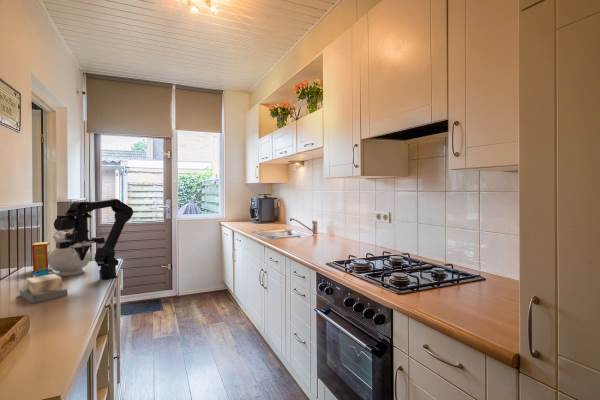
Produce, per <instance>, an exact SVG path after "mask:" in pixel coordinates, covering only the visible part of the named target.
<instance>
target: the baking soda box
mask: <svg viewBox="0 0 600 400" xmlns="http://www.w3.org/2000/svg"><path fill="white" fill-rule="evenodd" d="M50 244H51V243H50V241H41V242H40V241H38V242H34V243H33V244H31V251H32V253H31V254H32V270H33V271H32V273H33V272H35V271H37V274H38V273H39V269H43V271H44V270H45V268H48V270H47V271H49V270H50V269H52V268H51V267H50V266H49V264H48V255H49V254H50V253H51V245H50ZM43 271H41V272H43ZM47 271H45V272H47Z"/></svg>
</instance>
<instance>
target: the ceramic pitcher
mask: <svg viewBox="0 0 600 400" xmlns="http://www.w3.org/2000/svg"><path fill="white" fill-rule="evenodd" d="M72 231H73V229H69V230H68V231H67V232H65V230H60V231H58V230H56V232H55V233H54V235H53V236H52V239H54V242H55V244H56V243H57V242H60V241H69V242H70V240H65V234H66V233H70V234H72ZM81 245H82V244H81ZM81 245H80V247H81ZM91 258H92V253H91V250H90V249H89V250H88V251H87V253H86V255H85V258H84V260H83V261H81V260H80V258H79V256H78V254H77V252H76V250H75V249H73V248H71V246H70V247H69V248H64V249H58V248H56V247H55V248H54V250H52V251H50V254H49V255H48V264H49V266H50V267H51V268H50V269H52V270H54V272H58V273H57V275H58V276H60V277H70V276H75V275H80V274H82V273H84V272H85V271H84V270H83V269H84V268H85V267H87V266H88V265H89V263H90V261H91Z"/></svg>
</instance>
